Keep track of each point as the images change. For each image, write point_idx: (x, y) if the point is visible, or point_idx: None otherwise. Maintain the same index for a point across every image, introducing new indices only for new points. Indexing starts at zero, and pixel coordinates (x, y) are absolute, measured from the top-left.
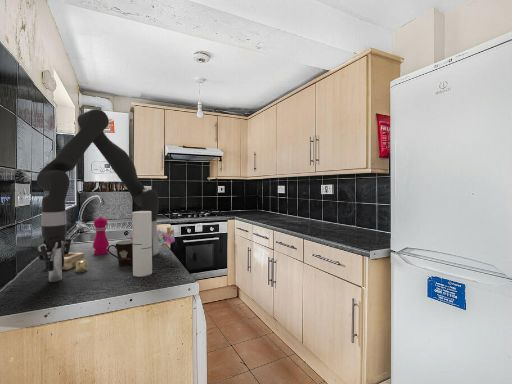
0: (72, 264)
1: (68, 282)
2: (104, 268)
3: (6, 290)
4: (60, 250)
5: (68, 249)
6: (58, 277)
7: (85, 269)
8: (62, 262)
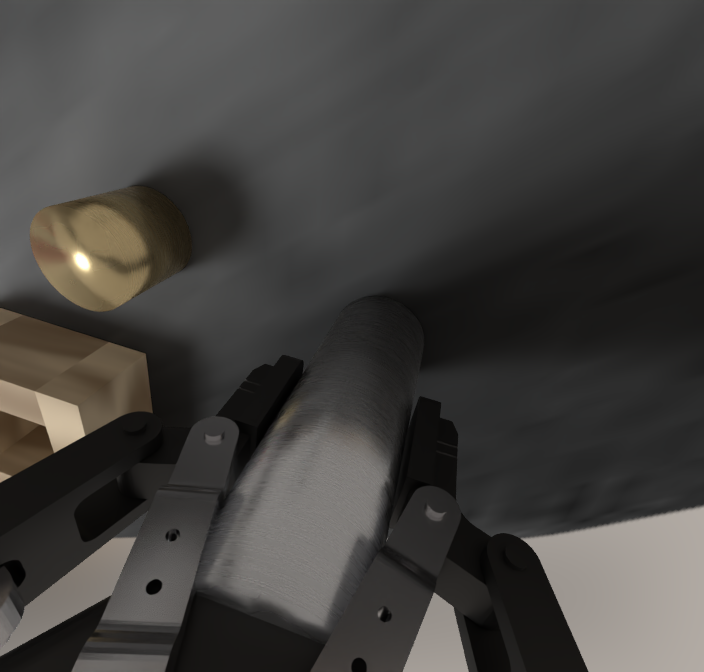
0: (83, 351)
1: (471, 191)
2: (39, 6)
3: (543, 530)
4: (265, 542)
5: (80, 455)
6: (400, 320)
7: (142, 192)
8: (279, 385)
